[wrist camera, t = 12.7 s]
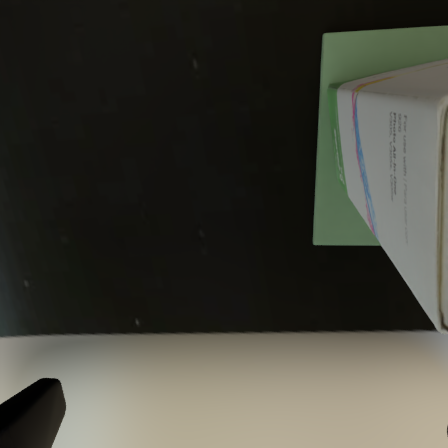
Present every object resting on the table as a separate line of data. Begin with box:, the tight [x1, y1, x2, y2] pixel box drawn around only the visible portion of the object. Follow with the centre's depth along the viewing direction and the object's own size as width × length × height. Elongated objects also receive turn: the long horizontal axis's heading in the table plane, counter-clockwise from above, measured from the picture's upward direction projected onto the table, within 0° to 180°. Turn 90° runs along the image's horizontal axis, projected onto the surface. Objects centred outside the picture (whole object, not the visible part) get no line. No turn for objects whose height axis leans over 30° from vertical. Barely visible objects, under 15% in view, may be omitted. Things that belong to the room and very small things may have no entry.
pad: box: [313, 26, 448, 245], centre depth 17 cm, size 10×10×1 cm
